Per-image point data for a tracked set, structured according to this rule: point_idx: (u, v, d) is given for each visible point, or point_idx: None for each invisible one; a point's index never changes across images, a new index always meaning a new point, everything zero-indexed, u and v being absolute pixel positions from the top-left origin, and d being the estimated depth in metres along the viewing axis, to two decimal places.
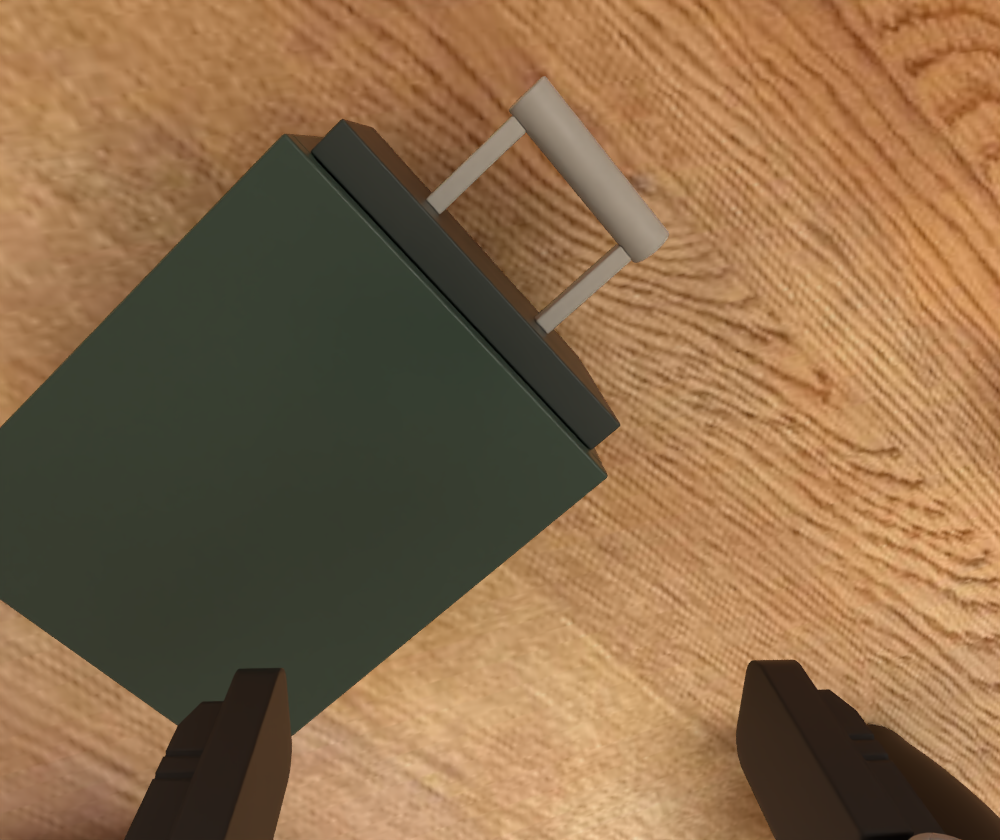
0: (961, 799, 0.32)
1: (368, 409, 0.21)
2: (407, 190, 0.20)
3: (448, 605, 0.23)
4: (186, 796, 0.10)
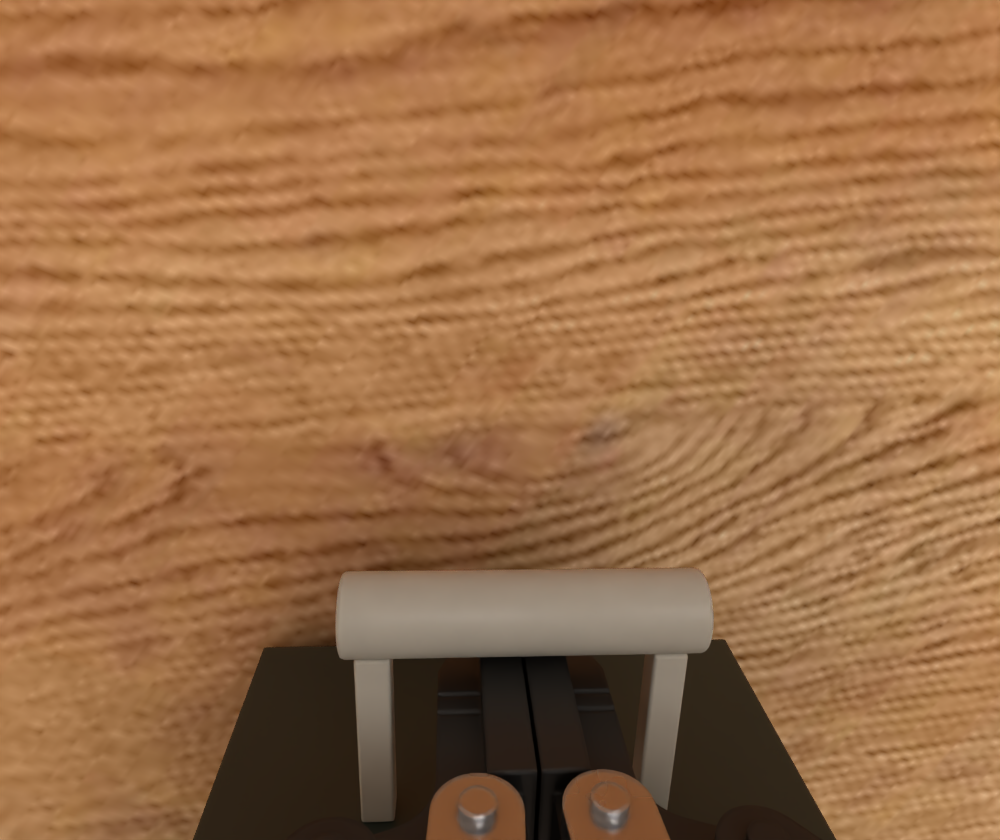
0: None
1: None
2: None
3: None
4: (485, 726, 0.11)
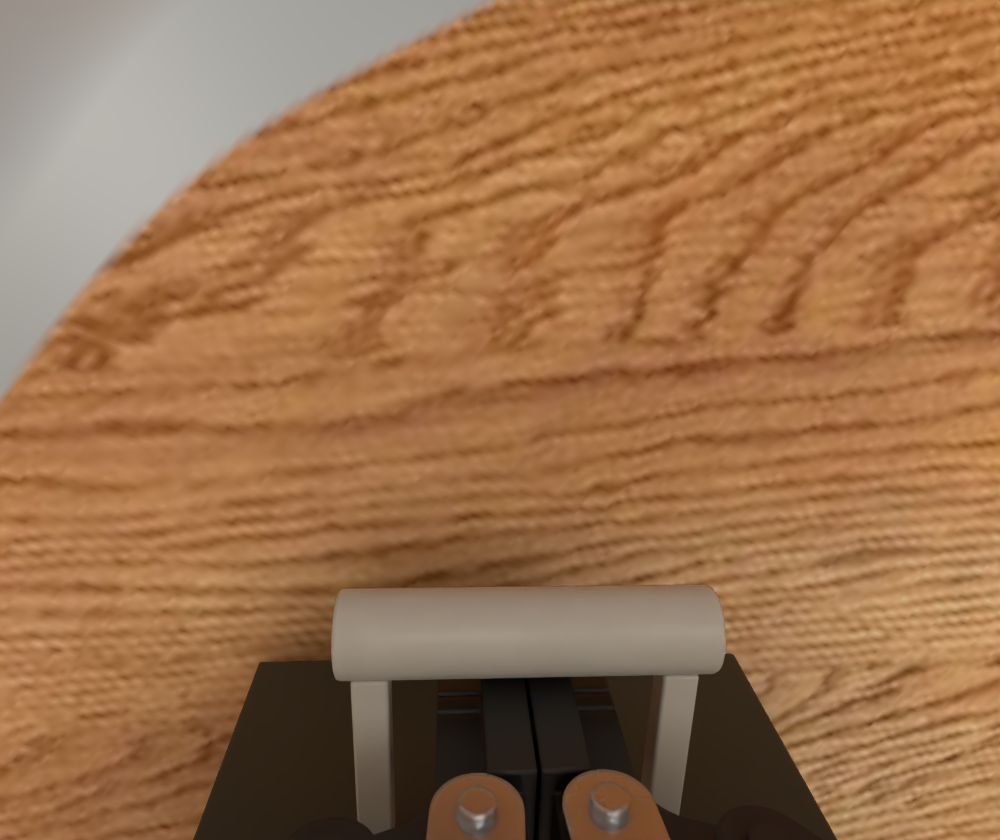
0: None
1: None
2: None
3: None
4: (485, 726, 0.11)
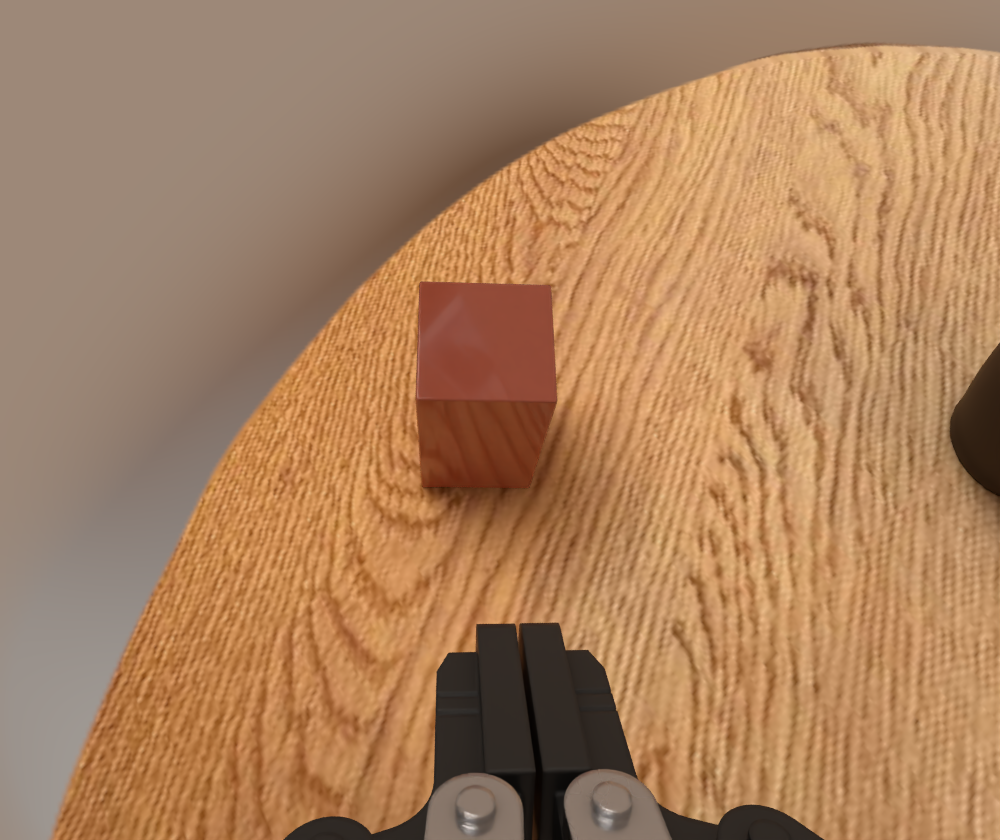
0: None
1: None
2: None
3: None
4: (483, 726, 0.11)
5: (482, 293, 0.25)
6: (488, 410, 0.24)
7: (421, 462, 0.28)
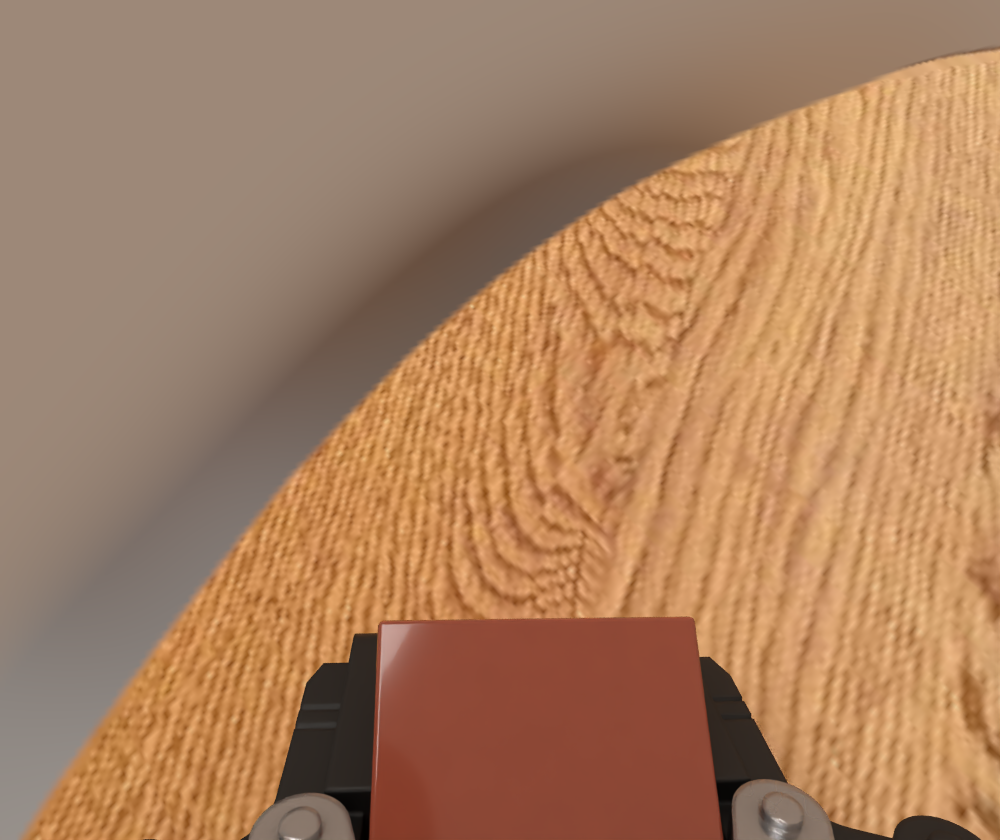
0: None
1: None
2: None
3: None
4: (334, 741, 0.11)
5: (531, 652, 0.10)
6: None
7: None
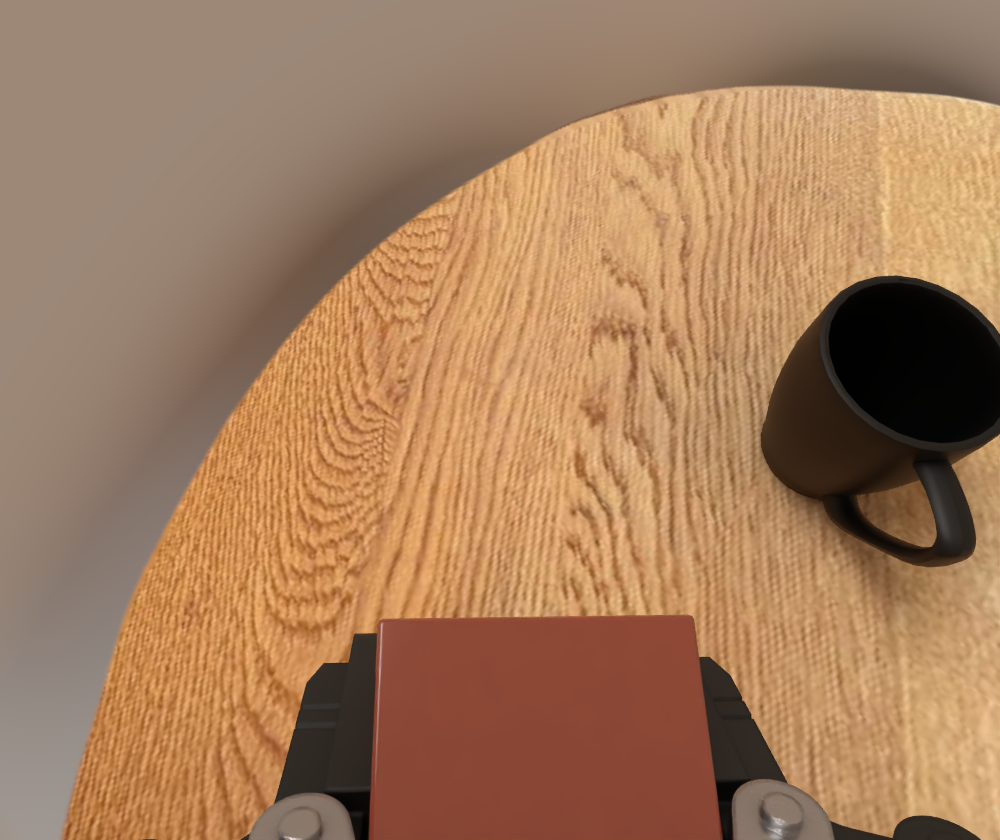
0: (795, 424, 0.33)
1: None
2: None
3: None
4: (334, 741, 0.11)
5: (531, 651, 0.10)
6: None
7: None
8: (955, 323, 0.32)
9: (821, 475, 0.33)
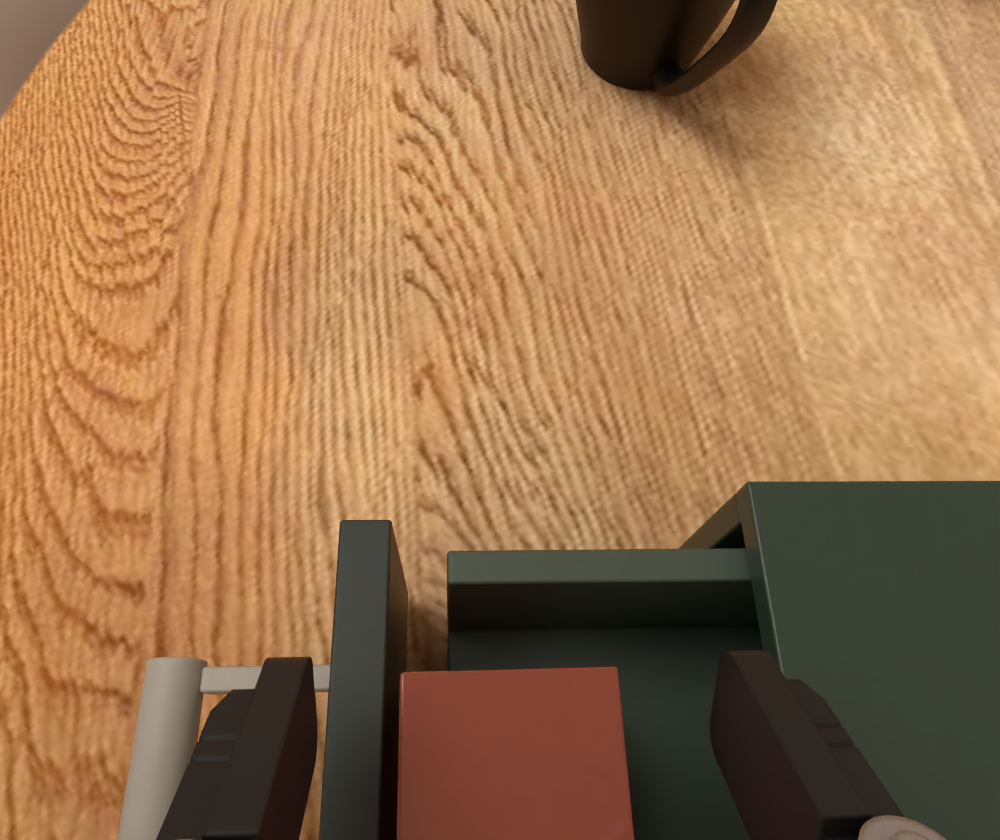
0: None
1: (970, 769, 0.15)
2: None
3: None
4: (223, 779, 0.10)
5: (505, 693, 0.15)
6: None
7: None
8: None
9: (634, 22, 0.32)
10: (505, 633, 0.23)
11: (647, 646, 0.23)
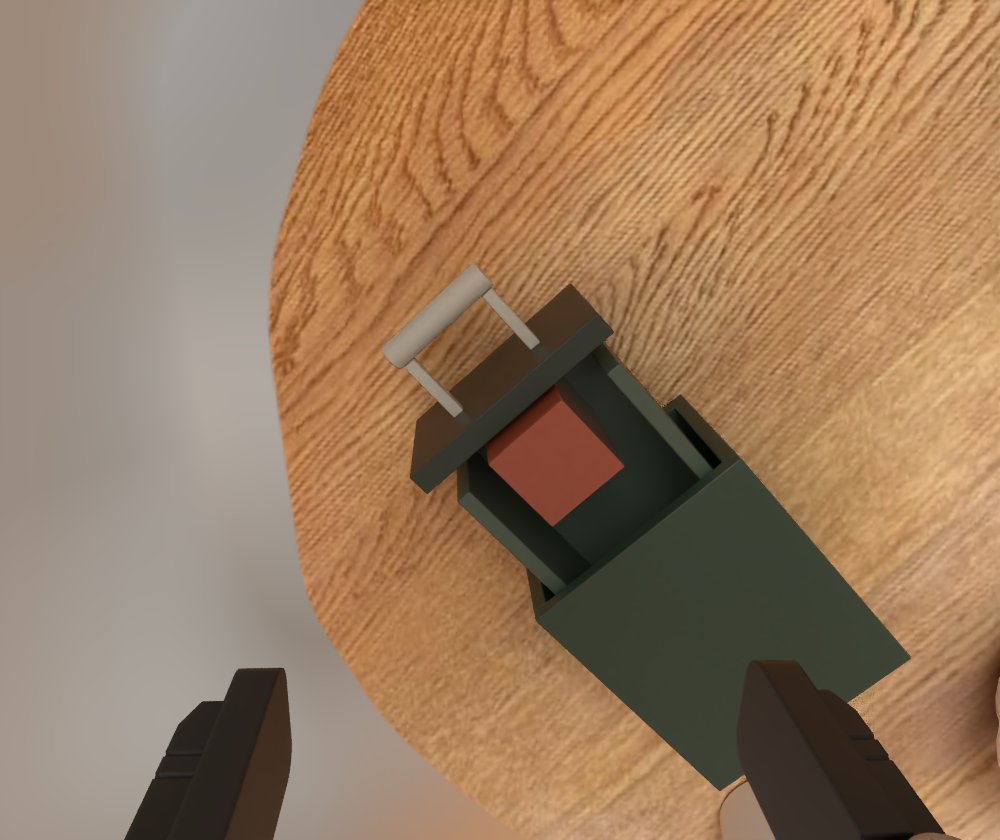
0: None
1: (680, 587, 0.37)
2: (446, 445, 0.34)
3: (814, 546, 0.36)
4: (186, 796, 0.10)
5: (584, 438, 0.33)
6: None
7: None
8: None
9: None
10: None
11: (645, 425, 0.42)
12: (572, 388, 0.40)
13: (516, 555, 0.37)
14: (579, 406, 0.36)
